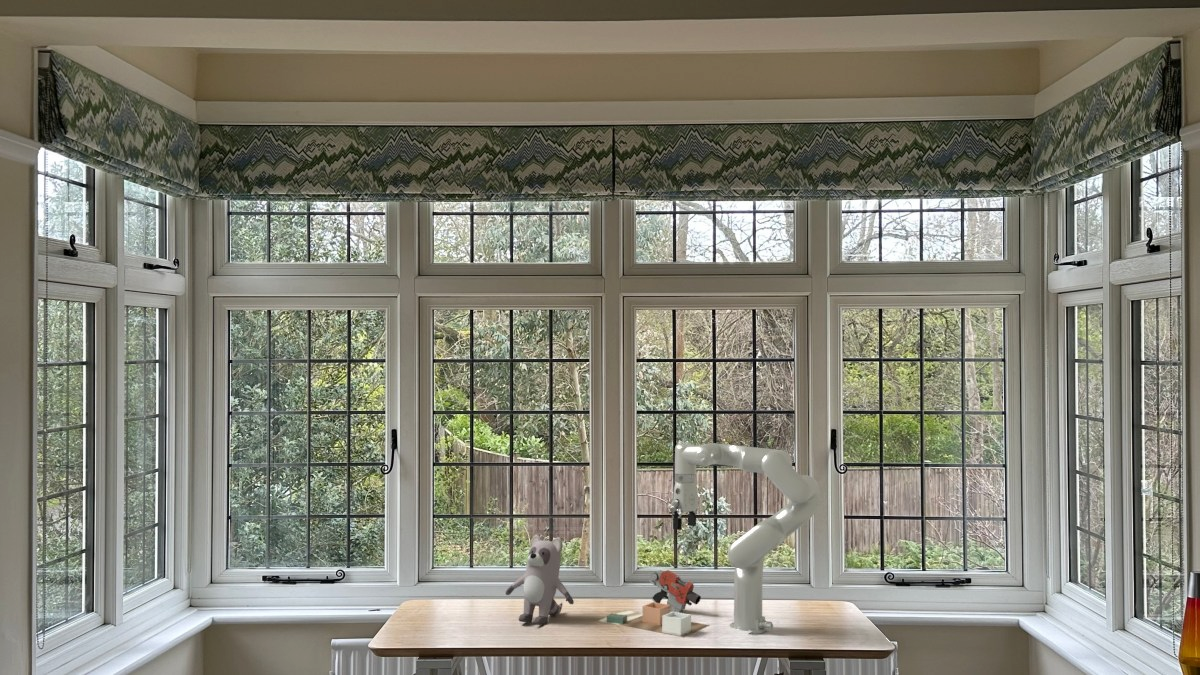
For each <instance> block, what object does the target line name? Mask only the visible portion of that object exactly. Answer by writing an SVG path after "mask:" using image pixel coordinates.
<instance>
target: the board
mask: <svg viewBox="0 0 1200 675" xmlns="http://www.w3.org/2000/svg"><path fill="white" fill-rule="evenodd" d="M616 614H620V615H627V622H625V623H624V624H619V623H611V622H607V616H606V617H604V618H601V619H599V620H597V621H598V622H602V623H606V624H607V623H608V624H613V625H617V626H624V627H627V628H628V627H629V628H633V629H637V630H638V629H639V630H644V631H648V632H649V631H650V632H653V633H654V632H655V633H657V634H658V633H660V634H663V635H669V636H674V637H679V638H686V637H688V636H690V635H692V634H694V633H697V632H699V631H701V630H703V629H705V628H707V627H709V626H710V624H704V623H699V622H693V621H691V632H689V633H686V634H684V635H682V636H677V635H672V634H667V633H662V625H655V624H649V623H644V622H642V612H640V611H639V612H637V611H634V610H633V611H632V610H629V609H628V610H627V609H624V610H622V611H620V612H617V613H616Z"/></svg>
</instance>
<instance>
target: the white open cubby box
mask: <svg viewBox="0 0 1200 675" xmlns="http://www.w3.org/2000/svg"><path fill="white" fill-rule="evenodd" d="M672 616H675V617H683V618H681V619H680V618H674V617H672ZM691 622H692V614H690V613H684V612H681V613H679V612H670V613H668V614H666V615H663V616H662V633H661V634H664V633H667V634H666V635H669V634H672V635H671V636H674V635H677V636H676V637H679V636H682V635H684V634H686V633H689V632H691Z"/></svg>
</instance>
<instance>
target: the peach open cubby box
mask: <svg viewBox="0 0 1200 675" xmlns="http://www.w3.org/2000/svg"><path fill="white" fill-rule="evenodd" d="M641 610H642V611H641V613H642V622H644V623H649V624H655V625H662V616H663V615H666V614H668V613H670V605H667V603H661V602H660V603H655V602H653V601H652V602H649V603H647V604H644V605H642V609H641Z"/></svg>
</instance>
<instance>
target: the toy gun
mask: <svg viewBox="0 0 1200 675" xmlns="http://www.w3.org/2000/svg"><path fill="white" fill-rule="evenodd" d="M648 580H649V581H648V582H649V583H650V584H652V585H653V586H655V587H657V588H659V589H660V591H658V592H657V593H655V594H654V595H653V596H652V598H651V600H652V602H655V603H661V601H662V600H663V599H664V598H665V599H667V601H666V604H667V605H670V612H679V613H684V610H685V609H686V606H687V605H688V606H692V604H694V605H698V604H699V602H700V601H701V598H702V597H701V595H700V594H698V593H696V592H694V587H695V585H694V582H693V581H691V580H687V582H685V581H684V580H682V579H681V577H680V576H679V575H677V574H676V573H675V572H672V571H671V570H668V569H667V570H657V571H655V572H653V573H652V574H650V577H649V579H648Z"/></svg>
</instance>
